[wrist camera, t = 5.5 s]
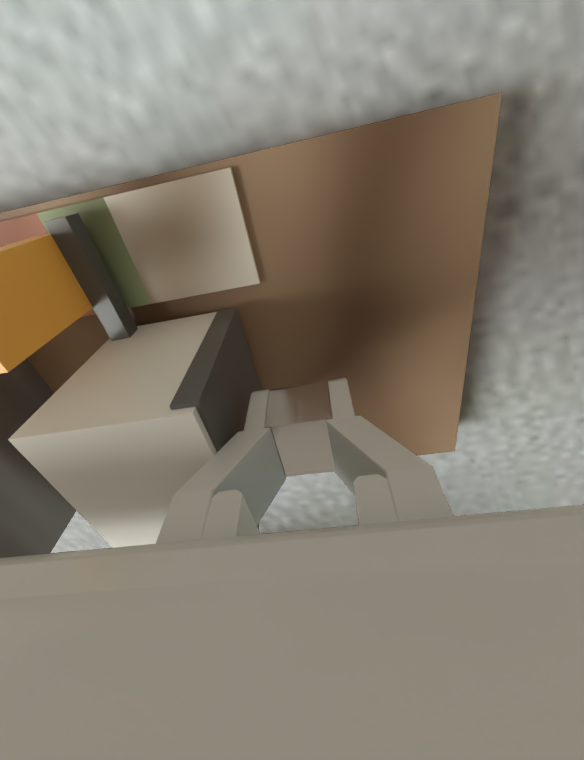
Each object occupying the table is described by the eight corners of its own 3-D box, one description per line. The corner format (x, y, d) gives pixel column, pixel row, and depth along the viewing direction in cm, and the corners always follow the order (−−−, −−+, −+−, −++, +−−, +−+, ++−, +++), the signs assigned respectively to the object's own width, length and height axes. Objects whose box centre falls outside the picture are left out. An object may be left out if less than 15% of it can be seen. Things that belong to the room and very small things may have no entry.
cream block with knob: (200, 184, 8) (104, 217, 4) (270, 414, 13) (257, 539, 9) (8, 229, 9) (-233, 293, 5) (138, 432, 13) (68, 555, 9)
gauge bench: (473, 100, 9) (896, -22, 3) (442, 427, 15) (536, 609, 9) (-118, 242, 11) (-642, 357, 5) (80, 471, 18) (-36, 641, 12)
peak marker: (65, 229, 9) (-72, 275, 6) (103, 299, 10) (8, 372, 7) (33, 236, 9) (-121, 286, 6) (74, 304, 10) (-34, 379, 7)
